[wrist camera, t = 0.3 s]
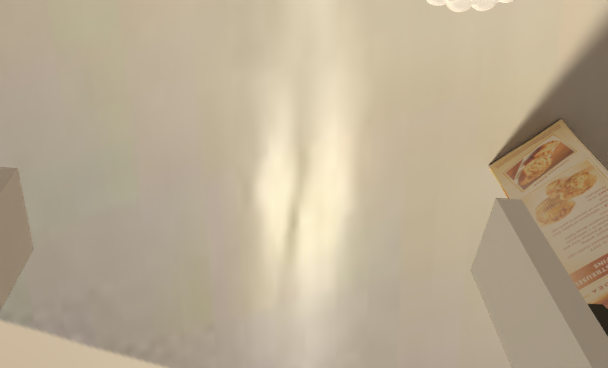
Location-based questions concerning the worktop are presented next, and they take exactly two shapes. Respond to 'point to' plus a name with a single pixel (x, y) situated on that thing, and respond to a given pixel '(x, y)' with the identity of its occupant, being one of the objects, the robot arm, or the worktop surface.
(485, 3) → the mooncake
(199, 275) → the worktop surface
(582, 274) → the coffeecake box
